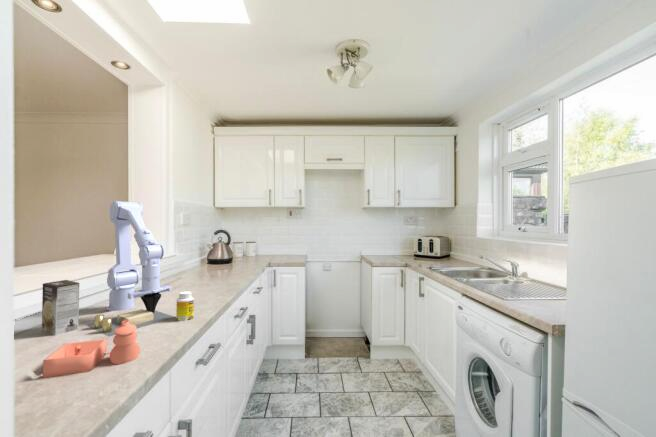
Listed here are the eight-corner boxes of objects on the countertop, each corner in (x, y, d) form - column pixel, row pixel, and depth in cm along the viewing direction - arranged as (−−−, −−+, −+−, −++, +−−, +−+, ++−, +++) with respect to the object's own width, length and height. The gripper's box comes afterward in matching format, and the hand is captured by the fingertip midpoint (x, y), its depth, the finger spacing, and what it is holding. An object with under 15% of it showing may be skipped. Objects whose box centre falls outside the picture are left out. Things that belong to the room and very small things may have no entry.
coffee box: (40, 333, 92) (41, 283, 93) (65, 326, 98) (66, 279, 98) (55, 338, 89) (55, 286, 89) (80, 331, 94) (80, 282, 94)
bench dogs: (93, 328, 95) (93, 316, 95) (101, 325, 97) (101, 314, 97) (104, 333, 90) (104, 320, 90) (113, 331, 92) (113, 318, 92)
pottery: (43, 378, 66) (43, 335, 67) (64, 359, 75) (65, 322, 75) (134, 365, 73) (134, 326, 73) (144, 349, 81) (144, 315, 81)
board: (85, 327, 98) (85, 324, 98) (150, 310, 116) (150, 309, 116) (109, 338, 88) (109, 336, 88) (176, 319, 106) (176, 317, 106)
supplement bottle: (190, 322, 102) (190, 294, 103) (173, 323, 102) (174, 294, 102) (195, 317, 108) (195, 290, 108) (179, 318, 107) (180, 290, 107)
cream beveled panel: (117, 322, 100) (117, 315, 100) (141, 315, 107) (142, 309, 107) (128, 326, 96) (128, 319, 96) (153, 319, 103) (153, 312, 103)
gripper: (134, 282, 98) (134, 322, 98) (176, 275, 110) (176, 310, 110) (125, 279, 102) (124, 318, 101) (166, 273, 114) (165, 307, 114)
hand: (150, 314), depth 106 cm, fingers closed
